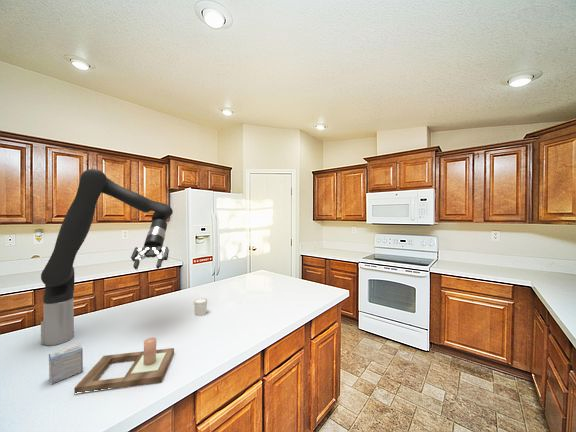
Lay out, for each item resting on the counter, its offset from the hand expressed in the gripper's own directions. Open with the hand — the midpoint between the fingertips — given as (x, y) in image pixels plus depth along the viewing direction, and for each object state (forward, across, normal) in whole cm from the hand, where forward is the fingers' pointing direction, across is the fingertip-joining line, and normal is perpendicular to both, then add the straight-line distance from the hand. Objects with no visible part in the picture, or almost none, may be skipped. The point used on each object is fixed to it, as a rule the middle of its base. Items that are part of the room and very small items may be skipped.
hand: (146, 268), depth 101 cm
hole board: (+37, +2, +6) cm, 38 cm away
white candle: (+7, +19, +37) cm, 42 cm away
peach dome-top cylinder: (+35, +8, +5) cm, 36 cm away
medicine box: (+36, -18, +8) cm, 41 cm away
